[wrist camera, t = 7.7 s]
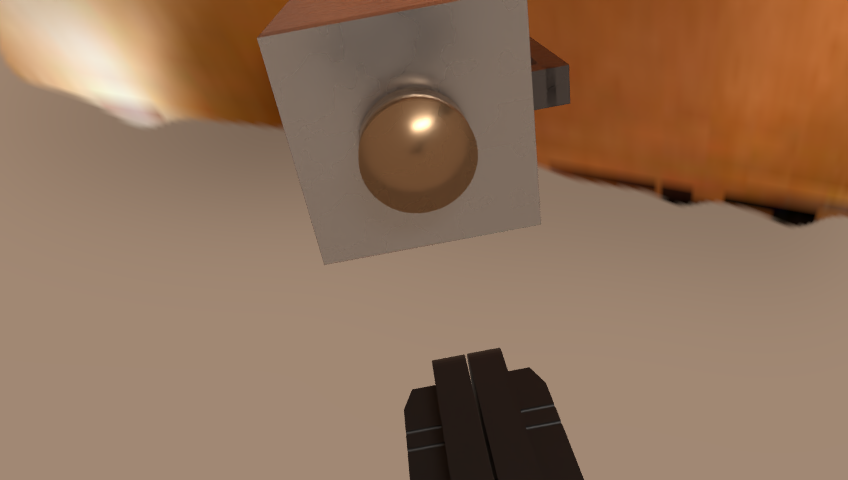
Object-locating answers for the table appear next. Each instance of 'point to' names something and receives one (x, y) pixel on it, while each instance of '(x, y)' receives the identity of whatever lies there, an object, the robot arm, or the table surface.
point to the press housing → (403, 68)
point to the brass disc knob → (416, 150)
